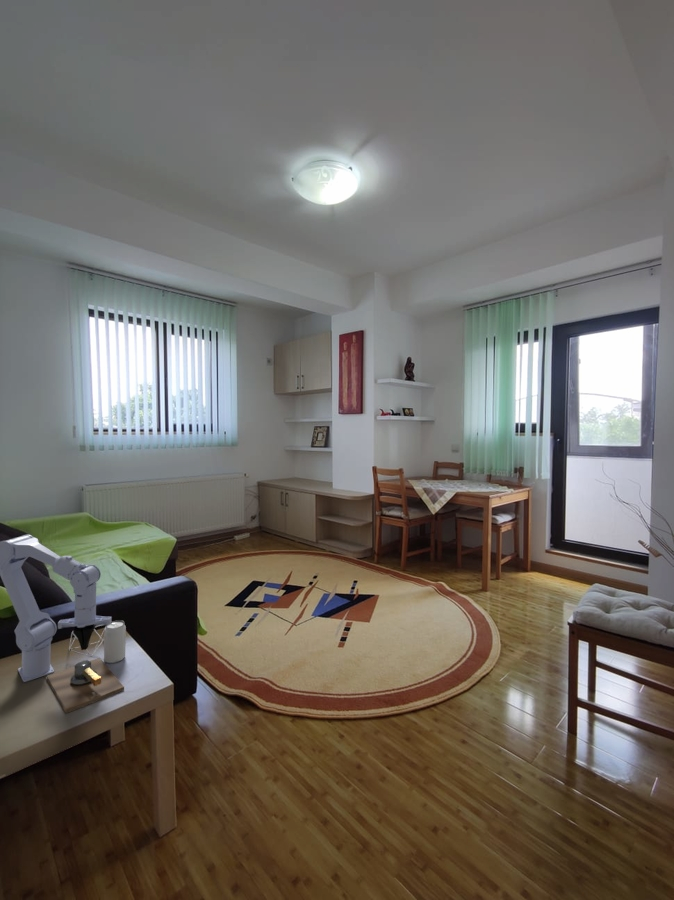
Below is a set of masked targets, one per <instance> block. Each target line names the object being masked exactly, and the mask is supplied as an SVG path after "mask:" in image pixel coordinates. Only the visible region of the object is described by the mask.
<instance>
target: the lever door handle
mask: <svg viewBox="0 0 674 900" xmlns="http://www.w3.org/2000/svg"><path fill="white" fill-rule="evenodd" d="M90 661H91V660H83V661H80V662H77V663H76V664H75V665H74V666H75V675H73V676H72V677H71V679H70V682H71V684H73V685H84V684H87V683H89V682H92V683H93V685H94V686H96V685H99V684H101V677H100V676H98V675H97V672H96V671H94V670H91V662H90Z"/></svg>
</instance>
